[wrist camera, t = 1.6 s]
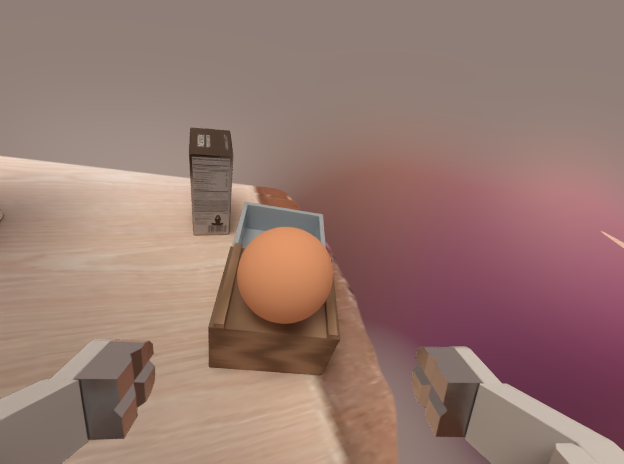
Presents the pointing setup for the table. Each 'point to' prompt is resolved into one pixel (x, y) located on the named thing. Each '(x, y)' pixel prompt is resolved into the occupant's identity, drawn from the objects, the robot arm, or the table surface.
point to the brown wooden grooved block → (268, 332)
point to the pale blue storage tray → (275, 222)
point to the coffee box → (210, 180)
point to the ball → (285, 275)
